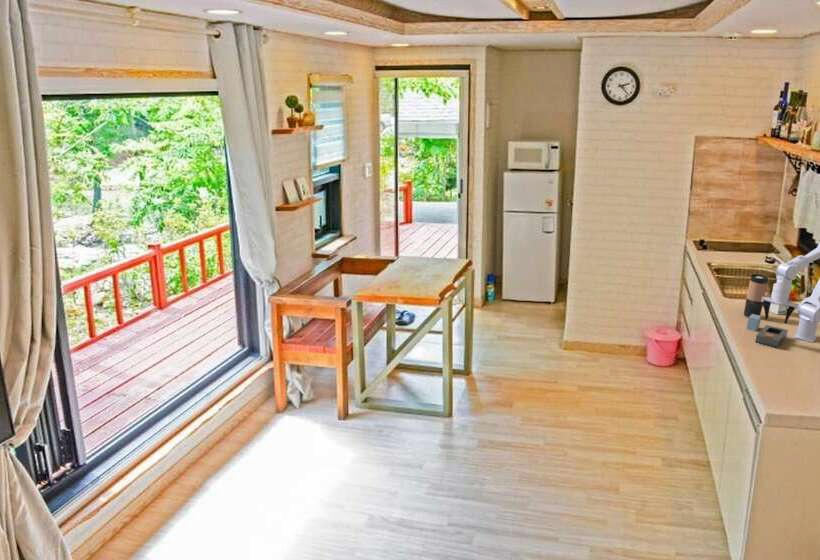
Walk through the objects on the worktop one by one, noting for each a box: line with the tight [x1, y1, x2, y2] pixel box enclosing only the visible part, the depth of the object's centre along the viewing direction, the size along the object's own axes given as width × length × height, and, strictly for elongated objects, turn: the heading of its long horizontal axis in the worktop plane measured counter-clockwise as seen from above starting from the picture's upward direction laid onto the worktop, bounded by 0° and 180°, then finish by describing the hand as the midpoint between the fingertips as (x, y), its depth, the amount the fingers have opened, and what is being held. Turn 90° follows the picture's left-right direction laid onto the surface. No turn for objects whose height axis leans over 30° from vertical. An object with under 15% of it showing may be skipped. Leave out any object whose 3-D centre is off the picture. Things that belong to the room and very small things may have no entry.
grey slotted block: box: [754, 324, 789, 349], centre depth 321 cm, size 18×9×4 cm, turn 142°
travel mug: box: [743, 273, 769, 318], centre depth 349 cm, size 8×8×20 cm
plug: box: [746, 314, 762, 332], centre depth 334 cm, size 6×4×6 cm, turn 142°
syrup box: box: [769, 283, 792, 316], centre depth 358 cm, size 6×6×14 cm
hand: (775, 320), depth 317 cm, fingers open, 7 cm apart
